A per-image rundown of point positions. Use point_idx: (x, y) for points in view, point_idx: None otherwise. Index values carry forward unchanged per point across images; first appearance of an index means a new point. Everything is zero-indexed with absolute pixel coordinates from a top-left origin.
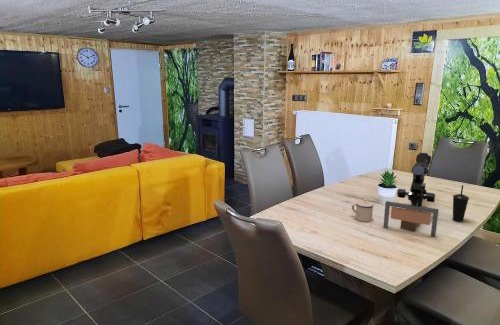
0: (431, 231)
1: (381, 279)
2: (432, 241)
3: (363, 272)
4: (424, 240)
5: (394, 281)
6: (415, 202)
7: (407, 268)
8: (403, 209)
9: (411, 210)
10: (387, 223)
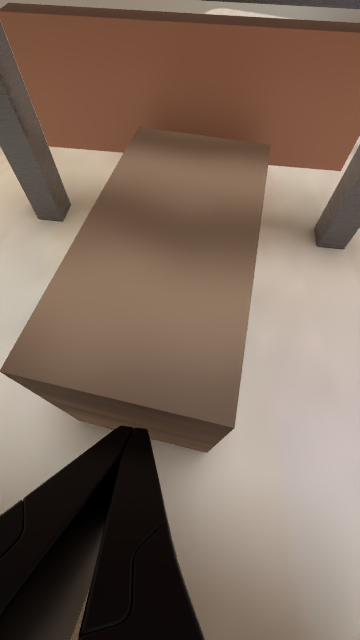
0: (56, 173)
1: (245, 12)
2: (76, 166)
3: (288, 18)
4: (113, 165)
5: (218, 12)
6: (61, 510)
7: None
8: (273, 19)
9: (191, 16)
10: (333, 198)
